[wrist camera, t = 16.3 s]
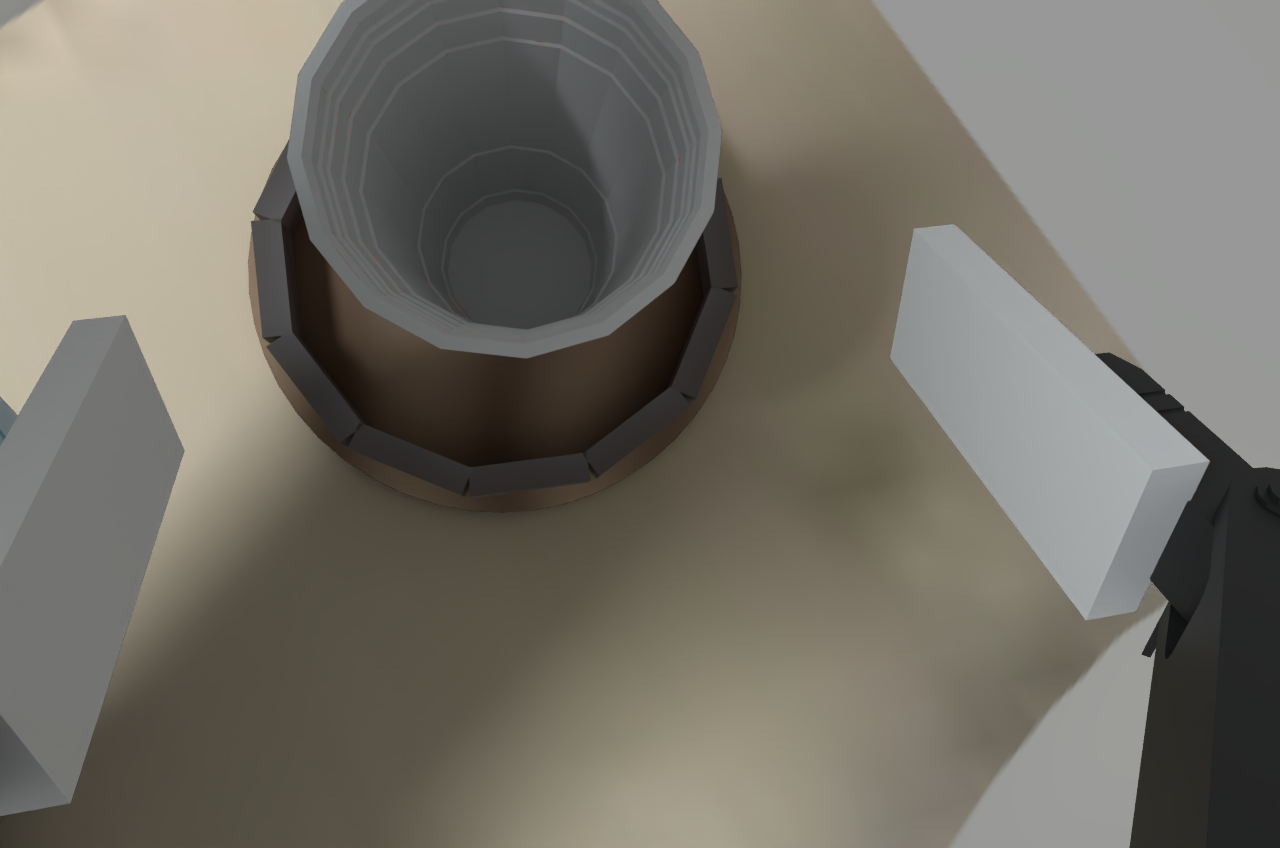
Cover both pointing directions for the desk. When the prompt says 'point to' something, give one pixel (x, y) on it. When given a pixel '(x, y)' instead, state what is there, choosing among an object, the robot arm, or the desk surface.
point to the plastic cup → (505, 164)
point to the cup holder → (486, 376)
